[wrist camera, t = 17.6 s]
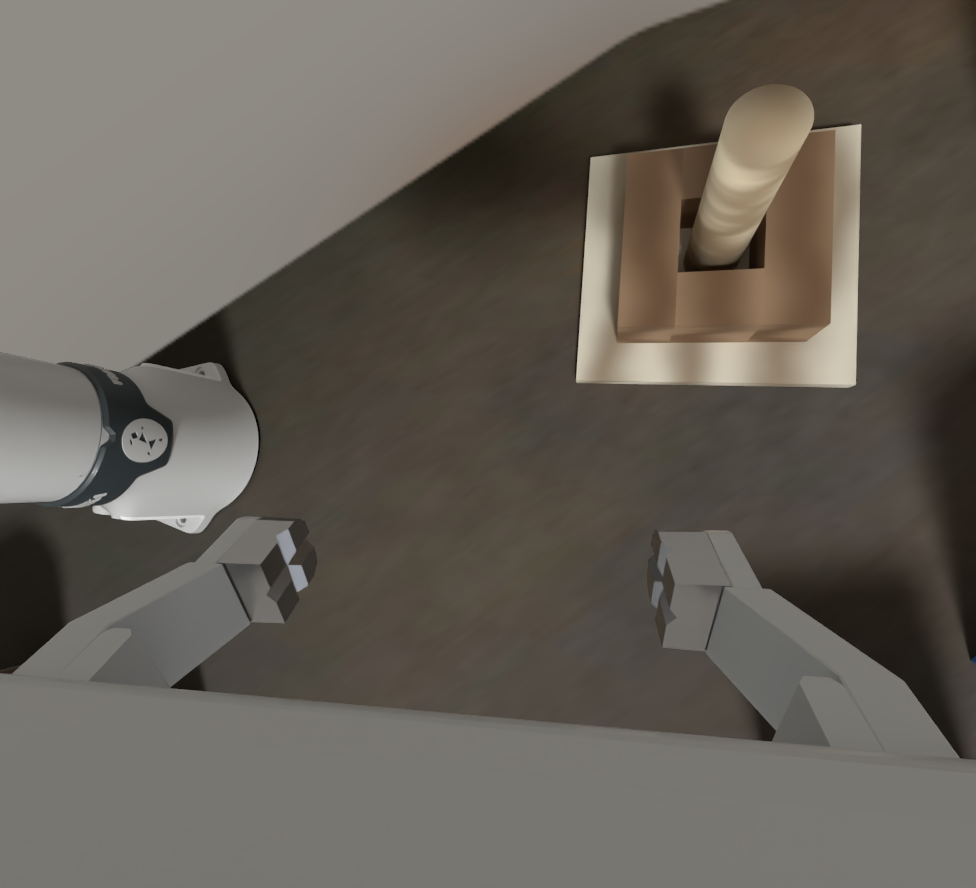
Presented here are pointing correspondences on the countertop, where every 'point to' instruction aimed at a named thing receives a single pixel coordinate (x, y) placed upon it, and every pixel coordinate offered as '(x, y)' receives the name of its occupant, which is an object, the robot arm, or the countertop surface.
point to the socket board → (716, 358)
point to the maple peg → (747, 173)
